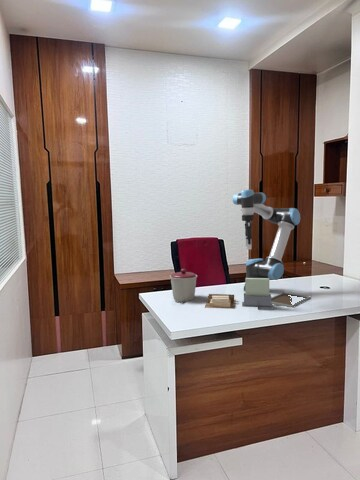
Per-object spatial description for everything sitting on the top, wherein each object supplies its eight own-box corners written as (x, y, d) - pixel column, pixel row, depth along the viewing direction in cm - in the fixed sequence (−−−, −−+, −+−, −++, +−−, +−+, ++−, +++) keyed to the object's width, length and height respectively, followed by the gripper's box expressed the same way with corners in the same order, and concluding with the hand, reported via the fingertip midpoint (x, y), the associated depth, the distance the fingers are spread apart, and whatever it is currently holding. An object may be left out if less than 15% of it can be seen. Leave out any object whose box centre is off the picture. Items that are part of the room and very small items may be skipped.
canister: (200, 297, 239) (199, 266, 236) (194, 305, 221) (193, 271, 219) (174, 296, 243) (174, 266, 241) (166, 303, 226) (165, 270, 224)
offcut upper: (212, 299, 218) (212, 295, 218) (228, 299, 217) (228, 295, 217) (212, 302, 211) (212, 298, 211) (229, 302, 210) (229, 298, 210)
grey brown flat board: (310, 296, 232) (290, 307, 209) (310, 299, 232) (290, 309, 210) (283, 292, 244) (261, 301, 222) (283, 294, 245) (261, 304, 222)
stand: (242, 304, 221) (242, 292, 220) (271, 305, 217) (272, 293, 217) (242, 308, 211) (242, 296, 210) (273, 310, 208) (273, 297, 207)
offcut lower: (211, 303, 219) (211, 299, 219) (230, 303, 217) (230, 299, 217) (209, 306, 211) (209, 302, 211) (230, 307, 209) (230, 303, 209)
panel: (245, 303, 217) (245, 277, 215) (269, 304, 214) (269, 278, 213) (245, 304, 214) (245, 278, 213) (269, 305, 212) (269, 279, 210)
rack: (207, 301, 229) (207, 292, 229) (235, 301, 226) (235, 293, 226) (204, 310, 210) (204, 301, 209) (235, 311, 207) (235, 302, 206)
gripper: (240, 213, 236) (241, 245, 238) (242, 215, 211) (243, 250, 213) (252, 213, 235) (252, 244, 237) (255, 215, 210) (256, 250, 213)
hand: (248, 247), depth 225 cm, fingers open, 13 cm apart
